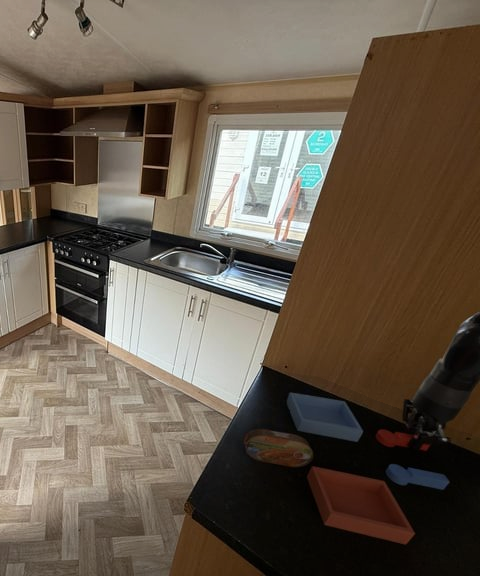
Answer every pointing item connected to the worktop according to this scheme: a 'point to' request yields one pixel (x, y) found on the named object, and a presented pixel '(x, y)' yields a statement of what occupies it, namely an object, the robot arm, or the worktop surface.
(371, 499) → the terracotta bin
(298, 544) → the worktop surface
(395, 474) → the blue spoon
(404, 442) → the red spoon
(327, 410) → the blue bin
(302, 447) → the tin
